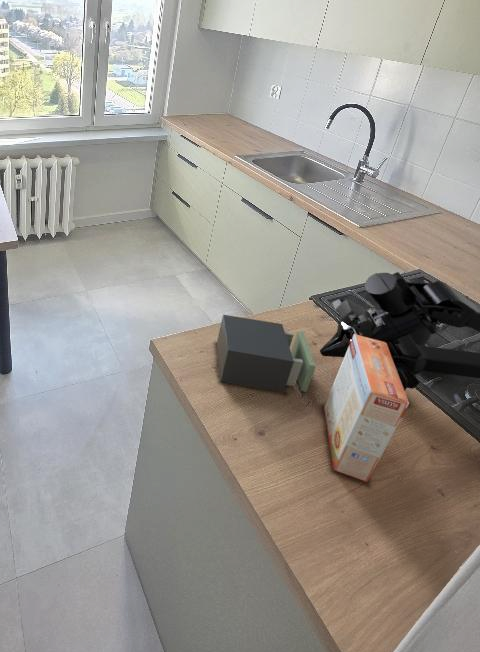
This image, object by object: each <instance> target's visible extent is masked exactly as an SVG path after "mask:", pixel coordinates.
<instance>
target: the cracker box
mask: <svg viewBox="0 0 480 652" xmlns="http://www.w3.org/2000/svg"><path fill="white" fill-rule="evenodd" d="M409 404H410V402H409V399H408V396H407V394H406V390H405V391H404V388H403V386H402V383H401V381H400V378H399V375H398V373H397V370H396V367H395V365H394V362H393V359H392V356H391V354H390V351H389V348H388V345H387V343H386V342H383V341H379V340H375V339H371V338H367V337H363V336H360V335H356V334H354V335H353V337H352V339H351V342H350V344H349V347H348V349H347V352H346V354H345V357H343V359H342V362H341V364H340V367H339V369H338V371H337V374H336V376H335V379H334V381H333V384H332V385H331V388H330V391H329V392H328V395H327V397H326V401H325V403H324V405H323V411H324V417H325V424H326V431H327V436H328V442H329V449H330V455H331V461H332V467H333V471H336V472H338V473H341V474H343V475H346V476H349V477H352V478H355V479H357V480H360V481H363V482H365V483H368V481H370V480H369V479H370V478H371V476H372V474H373V472H374V470H375V468H376V466H377V465H378V463H379V461H380V459H381V457H382V455H383V453H384V452H385V449H386V448H387V446H388V444H389V442H390V440H391V439H392V436H393V435H394V434H395V433H394V432H395V431H396V429H397V427H398V426H399V424H400V421H401V420H402V418H403V416H404V414H405V412H406V410H407V409H408V406H409Z"/></svg>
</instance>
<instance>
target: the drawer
mask: <svg viewBox="0 0 480 652" xmlns="http://www.w3.org/2000/svg"><path fill="white" fill-rule="evenodd" d="M284 332H285V335H286V338H287V341H288V344H289V347H290V348H291V344H292V341H293V338H294V332H291V331H287V330H284ZM309 346H310V345H309V344H308V340H307V338H306V335H305V333H304V331H300V330H297V333H296V336H295V339H294V342H293V345H292V348H291V350H290V351H291V354H292V357H293V360H294V363H293V366H292V369H291V372H290V375H289V378H288V381H287V384H286V386H290V387H296V384H297V382H298V385H299V386H298V387H299V389H300V391H301V392H308V389H309V386H310V385H311V380H312V378H313V376H314V372H315V370H316V368H317V365H316V363H315V360H314V357H313V355H312V352H311V349H310V347H309Z"/></svg>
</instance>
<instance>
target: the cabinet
mask: <svg viewBox="0 0 480 652" xmlns="http://www.w3.org/2000/svg"><path fill="white" fill-rule="evenodd" d="M284 331H285V328H284V325H283V323H278V322H273V321H266V320H260V319H254V318H247V317H241V316H234V315H229V314H222V317H221V322H220V327H219V331H218V337H217V341H216V351H217V360H218V361H217V362H218V369H219V378H220V379H219V380H220V382H223V383H227V384H233V385H238V386H245V387H250V388H254V389H255V388H256V389H260V390H267V391H273V392H277V393H283V394H284V392H285V390H286V386H287V385H286V384H287V381H288V378H289V375H290V372H291V369H292V366H293V363H294V360H293V357H292V354H291V351H292V350H291V346H290V347H289V344H288V341H287V338H286V335H285V332H284Z"/></svg>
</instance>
